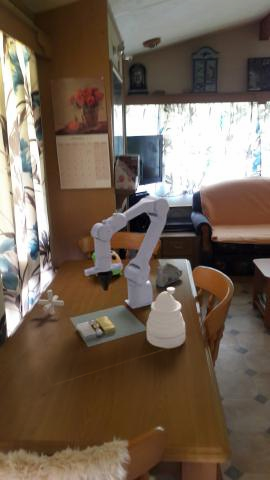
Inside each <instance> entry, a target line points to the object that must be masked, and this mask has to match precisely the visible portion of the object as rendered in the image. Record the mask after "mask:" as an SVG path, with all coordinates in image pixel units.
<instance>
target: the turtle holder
mask: <svg viewBox="0 0 270 480" xmlns="http://www.w3.org/2000/svg"><path fill="white" fill-rule="evenodd" d="M91 259H92V260H93V264H94V267H95V266H96V258H95V252H93V253H92V255H91ZM114 263H122V260H121V258H120V256H119V255H118V254H117V252H115V251H114V250H111V264H114ZM122 270H123V269H117V270H112V272H113V276H115V275H119V276H122V275H123V274H122ZM95 276H96V277H98V276H97V274H95Z"/></svg>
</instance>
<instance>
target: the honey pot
mask: <svg viewBox="0 0 270 480" xmlns="http://www.w3.org/2000/svg"><path fill="white" fill-rule="evenodd" d="M175 291H176V288H175V287H173V286H169V287H167V288H166V291H162V292H161V293H159V294H158V296H157V297H156V299H155V300H154V301H153V303H152V304H150V309H151V311H150V312H149V315H148V318H147V321H146V326H145V327H146V328H147V330H146V340H147V342H148V343H150V344H151V345H152V346H155V347H158V348H164V349H174V348H177V347H180V346H181V345H182V344H185V341H186V323H185V320H184V317H183V314H182V312H181V310H182V304H181V303H180V301H178V300H176V299H175V297H174V296H173V294H175Z"/></svg>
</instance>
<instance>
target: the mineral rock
mask: <svg viewBox="0 0 270 480" xmlns="http://www.w3.org/2000/svg"><path fill="white" fill-rule="evenodd" d="M181 276H183V270H181V269H180V268H178V267H177V266H176V265H174V264H172V263H169V262H166V263H165V264H163V265H161V266H158V267H157V269H156V279H155V280H156V281H155V284H156V285H157V286H158V287H161V288H165V287H166V286H168V285H170V284H173V283H175V282H178V280H180V278H181Z"/></svg>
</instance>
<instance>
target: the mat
mask: <svg viewBox="0 0 270 480" xmlns="http://www.w3.org/2000/svg"><path fill="white" fill-rule="evenodd" d="M105 316H106V317H107V318H108V319H109V320H110V321H111V323H112V324H113V325H114V326H115V330H116V332H115V333H111V334H108V335H104V334H103V336H102V337H100V338H99V337H97V338H96V339H93V340H89V341H86V342H85V340H84V339H83V337H82V336H81V334H80V333H79V331H78V329H77V324H80V323H84V322H89V321H90V320H94V321H95V322H96V319H97V318H101V317H105ZM69 320H70V321H71V323H72V325H73V326H74V328H75V329H76V330H77V332H78V334H79V336H80V337H81V338H82V340H83V341H84V343H85V345H86V346H87V347H88V348H89V347H93V346H97V345H100V344H103V343H107V342H111V341H113V340H117V339H120V338H124V337H127V336H131V335H135V334H138V333H141V332H146V331H147V328H146V327H147V326H145V325H144V324H143V323H142V322H141V321H140V320H139V319H138V318H137V317H136V316H135V314H133V313H132V312H131V310H129V309H128V308H127V307H126V306H125V305H123V304H121V305H117V306H113V307H108V308H104V309H101V310H97V311H93V312H89V313H86V314H85V313H84V314H82V315H77V316H73V317H69ZM94 331H95V330H94Z"/></svg>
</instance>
